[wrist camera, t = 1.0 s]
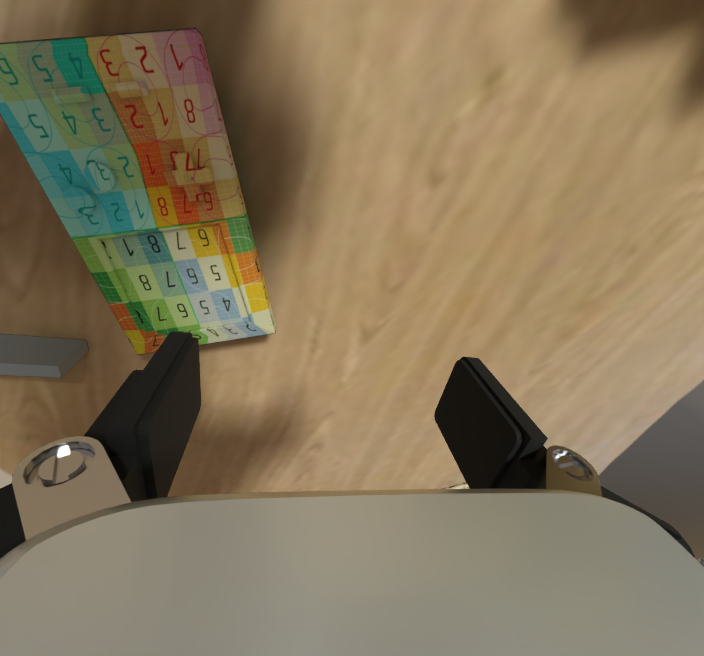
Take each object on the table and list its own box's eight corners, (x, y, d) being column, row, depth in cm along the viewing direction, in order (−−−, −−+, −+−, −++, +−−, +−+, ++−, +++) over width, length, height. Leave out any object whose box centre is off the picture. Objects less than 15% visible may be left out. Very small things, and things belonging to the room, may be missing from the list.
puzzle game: (190, 21, 16) (274, 339, 27) (211, 45, 20) (277, 313, 31) (-53, 40, 15) (132, 361, 26) (19, 61, 19) (154, 332, 30)
